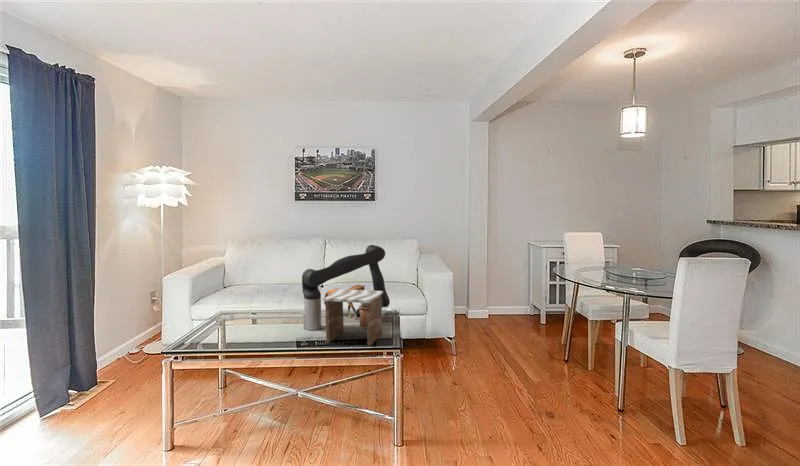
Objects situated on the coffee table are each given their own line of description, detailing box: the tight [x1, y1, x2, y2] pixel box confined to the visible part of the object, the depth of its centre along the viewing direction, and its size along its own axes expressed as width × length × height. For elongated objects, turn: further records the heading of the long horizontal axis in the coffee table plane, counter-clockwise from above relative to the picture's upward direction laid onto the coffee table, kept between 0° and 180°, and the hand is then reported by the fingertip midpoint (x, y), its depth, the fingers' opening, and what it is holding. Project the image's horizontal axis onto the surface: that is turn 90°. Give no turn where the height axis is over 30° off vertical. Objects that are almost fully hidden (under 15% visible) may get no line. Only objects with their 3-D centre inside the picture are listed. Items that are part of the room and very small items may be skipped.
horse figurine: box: [323, 284, 366, 321], centre depth 291 cm, size 31×8×21 cm, turn 61°
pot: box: [358, 303, 367, 328], centre depth 266 cm, size 7×7×15 cm
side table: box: [322, 288, 383, 347], centre depth 249 cm, size 25×22×23 cm
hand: (363, 316), depth 264 cm, fingers closed on pot, 6 cm apart
